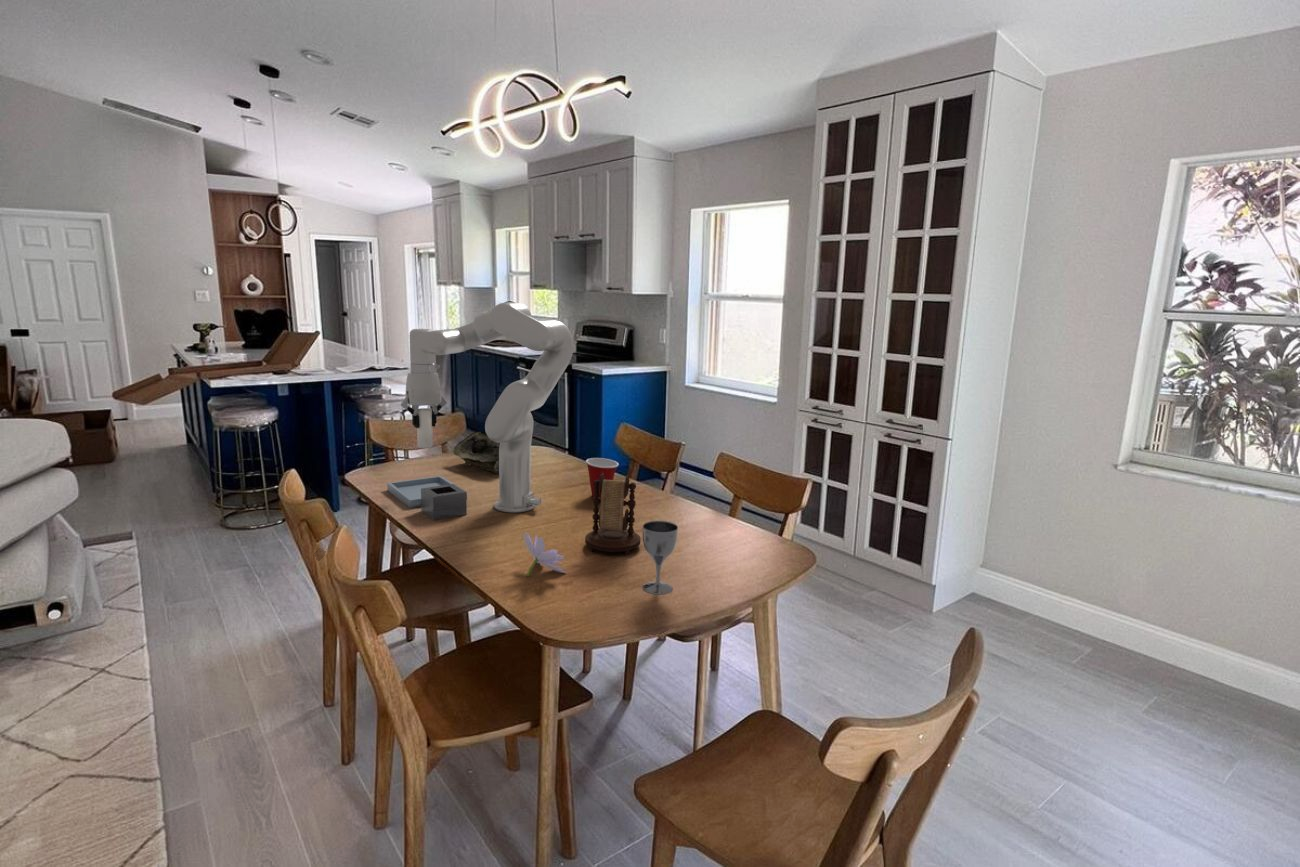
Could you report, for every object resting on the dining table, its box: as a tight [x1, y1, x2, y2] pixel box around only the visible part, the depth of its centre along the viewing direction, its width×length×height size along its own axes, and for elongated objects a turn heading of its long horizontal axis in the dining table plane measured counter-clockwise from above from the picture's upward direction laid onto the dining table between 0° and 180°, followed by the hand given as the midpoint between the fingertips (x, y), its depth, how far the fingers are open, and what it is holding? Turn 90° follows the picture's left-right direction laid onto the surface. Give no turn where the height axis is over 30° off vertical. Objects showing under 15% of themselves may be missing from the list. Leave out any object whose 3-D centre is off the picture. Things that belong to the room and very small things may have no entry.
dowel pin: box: [416, 407, 433, 449], centre depth 218 cm, size 4×4×12 cm
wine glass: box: [641, 520, 679, 595], centre depth 158 cm, size 8×8×15 cm
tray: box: [386, 475, 468, 509], centre depth 222 cm, size 22×18×2 cm
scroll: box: [584, 473, 642, 556], centre depth 182 cm, size 15×15×20 cm
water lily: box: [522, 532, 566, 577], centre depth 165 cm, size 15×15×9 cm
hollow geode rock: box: [452, 431, 500, 475], centre depth 256 cm, size 28×13×15 cm
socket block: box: [420, 483, 468, 521], centre depth 205 cm, size 10×10×7 cm
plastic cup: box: [585, 457, 619, 499], centre depth 227 cm, size 11×11×12 cm
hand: (424, 426), depth 218 cm, fingers closed on dowel pin, 4 cm apart
